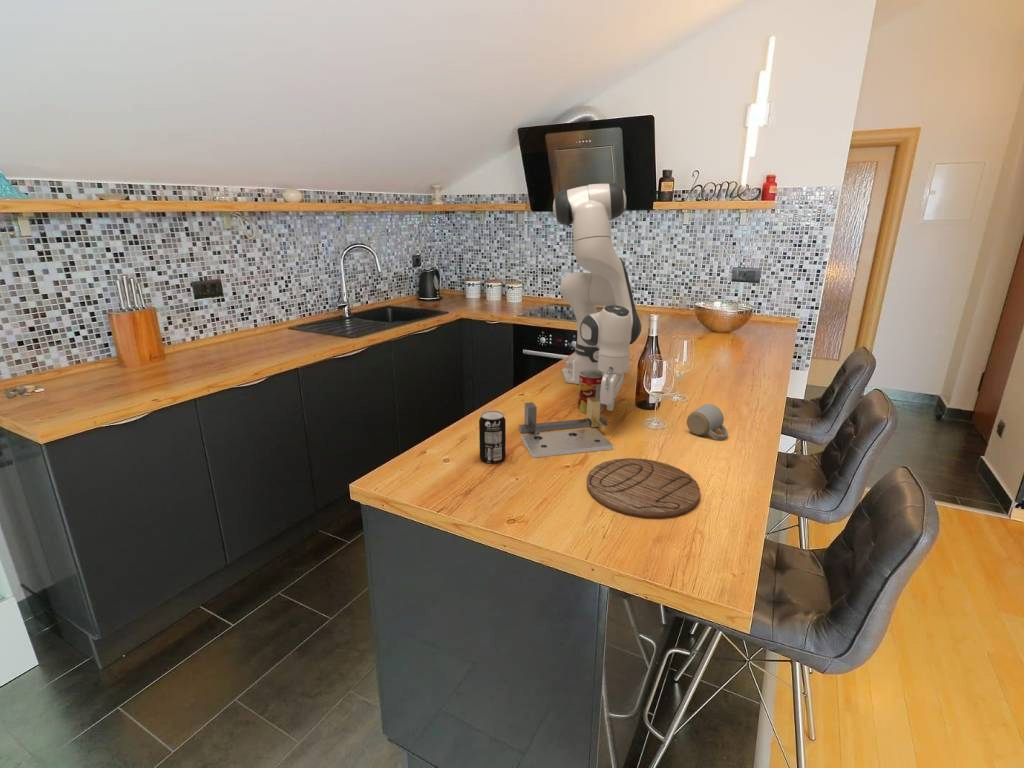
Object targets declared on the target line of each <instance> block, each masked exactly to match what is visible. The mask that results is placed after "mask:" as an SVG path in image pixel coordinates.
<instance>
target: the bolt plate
mask: <svg viewBox="0 0 1024 768" xmlns="http://www.w3.org/2000/svg"><path fill="white" fill-rule="evenodd" d="M520 441H522V443H523V445H524V447H525V448H526V449H527V451H528V453H529V454H530V456H531V458H533V459H534V458H542V457H553V456H554V457H555V456H562V455H563V456H564V455H571V454H582V453H591V452H592V453H593V452H601V451H609V450H611V451H612V450H613V448H614V445H613V443H612V442H611V441H609V439H607V438H606V437H605V435H603V433H602V432H601V431H600V430H599V429H598V428H597V427H589V428H584V429H583V428H579V429H570V430H569V429H568V430H557V431H550V432H549V431H547V432H540V435H536V433H530V434H529V433H525V434H521V435H520Z"/></svg>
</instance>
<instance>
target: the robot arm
mask: <svg viewBox="0 0 1024 768" xmlns="http://www.w3.org/2000/svg"><path fill="white" fill-rule="evenodd" d="M552 203H553V204H552V212H553V214H554V215H553V216H554V217H555V219H556V222H558V223H559V224H561V225H563V226H566V227H570V225H573V226H572V227H573V228H572V236H573V237H572V239H573V240H572V241H573V250H574V256H575V260H576V262H577V263H578V266H580V267H582V269H584V270H585V271H588V272H573V273H568V274H565V276H564V277H563V279H562V280H561V282H560V295H561V297H562V298H563V300H564V301H565V302H567V303H568V305H569V306H570V307H571V309H572V311H573V313H574V316H575V318H576V325H577V327H576V328H577V329H576V333H577V336H576V337H577V338H576V343H575V345H574V352H573V353H572V354H571V355H570V356H569V357H568V360H566V361H564V364H565V368H561V374H562V376H563V379H564V381H565V382H566V383H568V384H574V385H575V384H576V385H579V373H580V372H581V371H584V370H597V371H601V372H602V375H603V377H602V382H601V391H600V403H601V404H603V405H606V410H607V411H613V410H614V408H615V402H616V398H617V395H618V393H619V391H620V390H621V387H622V385H623V383H624V378H625V373H627V372H629V370H630V360H631V359H630V358H631V355H630V354H631V351H630V346H631V345H634V343H635V342H636V341H637V340H638V338H639V337H640V335H641V333H642V323H641V319H640V317H639V314H638V312H637V309H636V305H635V302H634V296H633V293H632V292H633V290H632V289H633V288H632V284H631V282H630V279H629V274H628V272H627V267H626V265H625V262H624V261H623V259H622V258H620V257H619V256H618V254H617V253H616V250H615V248H614V244H613V239H612V231H611V224H610V220H614V219H617V218H619V217H621V216H622V215H623V214H624V212H625V209H626V205H627V196H626V192H625V190H624V188H623V186H622V184H621V183H617V182H608V183H591V184H587V185H582V186H577V187H573V188H570V189H567V188H565V189H563V190H560V191H558V192H556V194H555V195H554V199H553V202H552ZM597 307H603V308H602V309H601V311H598V310H597Z"/></svg>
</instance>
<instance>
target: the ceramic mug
mask: <svg viewBox="0 0 1024 768" xmlns="http://www.w3.org/2000/svg"><path fill="white" fill-rule="evenodd" d="M723 414H724V413H723V412H722V410H721V409H720V408H719V407H718V406H717V405H715V404H712V403H706V404H703V405H702V406H700V407H698V408H696V409H695V410H693V411H692V412H690V414H689V415H688V416H687V418H686V425H687V428H688V430H689V431H690V432H691V433H692V434H694V435H696V436H701V437H702V436H706V435H709V436H710V437H711V438H713V439H714V440H718V441H719V440H720V441H722V440H725V439H726V438H727V436H729V435H728V434H729V432H728V429H727V428H726V427H725V426H724V421H725V419H724V418H725V417H724V415H723ZM717 430H721V432H722V433H723V435H721V434H720V435H719V434H717V433H715V432H714V431H717Z"/></svg>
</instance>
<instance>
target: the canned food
mask: <svg viewBox="0 0 1024 768" xmlns="http://www.w3.org/2000/svg"><path fill="white" fill-rule="evenodd" d="M602 377H603V375H602V372H601V371H597V370H584V371H581V372H580V373H579V384H578V395H577V396H578V398H577V399H578V400H577V410H578V411H579V413H582V414H586V415H587V398H591V397H596V398H597V399H598V400H599V401H600V391H601V382H602ZM603 411H604V404H601V403H600V414H601V413H602V412H603Z"/></svg>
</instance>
